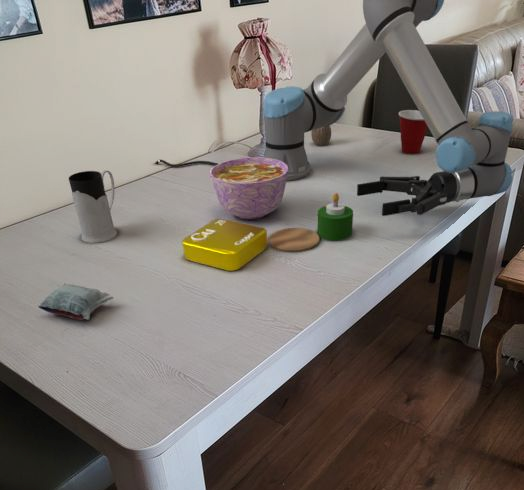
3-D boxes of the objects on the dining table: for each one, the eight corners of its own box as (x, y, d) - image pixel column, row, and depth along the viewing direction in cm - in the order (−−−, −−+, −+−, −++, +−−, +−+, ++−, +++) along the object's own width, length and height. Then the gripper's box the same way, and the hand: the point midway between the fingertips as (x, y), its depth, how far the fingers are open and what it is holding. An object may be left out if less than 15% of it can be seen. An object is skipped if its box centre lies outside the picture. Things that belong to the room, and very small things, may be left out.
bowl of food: (198, 216, 142) (192, 172, 135) (250, 193, 154) (248, 152, 147) (252, 235, 131) (250, 189, 124) (305, 209, 142) (305, 165, 135)
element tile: (234, 273, 116) (232, 252, 113) (180, 258, 123) (177, 239, 120) (270, 245, 126) (270, 226, 123) (219, 233, 133) (217, 215, 130)
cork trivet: (258, 242, 128) (258, 240, 128) (291, 225, 135) (291, 224, 134) (296, 256, 121) (296, 254, 121) (329, 238, 128) (329, 236, 127)
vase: (333, 141, 191) (333, 115, 186) (328, 147, 186) (329, 120, 180) (314, 141, 193) (314, 115, 188) (309, 146, 188) (309, 120, 182)
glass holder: (74, 240, 134) (57, 180, 125) (107, 218, 144) (94, 161, 135) (103, 244, 131) (88, 183, 122) (135, 221, 141) (123, 164, 133)
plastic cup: (429, 157, 172) (434, 117, 165) (394, 156, 174) (398, 117, 167) (427, 147, 181) (432, 108, 174) (394, 146, 183) (398, 108, 176)
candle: (342, 224, 134) (344, 184, 128) (357, 237, 128) (360, 195, 122) (312, 229, 132) (312, 189, 126) (325, 243, 126) (326, 202, 120)
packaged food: (69, 294, 112) (63, 273, 109) (116, 305, 108) (110, 283, 105) (40, 316, 106) (32, 295, 103) (88, 328, 102) (81, 306, 99)
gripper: (477, 219, 124) (393, 234, 120) (421, 185, 143) (347, 197, 139) (483, 187, 120) (396, 202, 115) (425, 156, 139) (349, 168, 135)
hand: (369, 199), depth 127 cm, fingers open, 13 cm apart
